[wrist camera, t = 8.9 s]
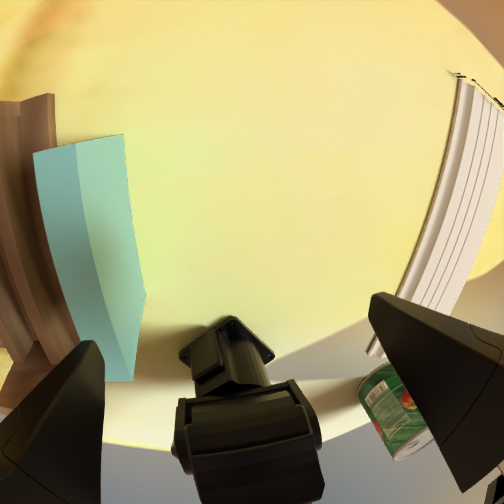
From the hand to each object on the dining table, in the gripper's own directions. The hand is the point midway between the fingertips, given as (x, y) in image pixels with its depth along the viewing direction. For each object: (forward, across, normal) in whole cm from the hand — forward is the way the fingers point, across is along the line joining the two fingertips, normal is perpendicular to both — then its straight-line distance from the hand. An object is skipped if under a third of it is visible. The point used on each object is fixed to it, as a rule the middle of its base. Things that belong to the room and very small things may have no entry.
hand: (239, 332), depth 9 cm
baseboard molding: (+14, -24, +5) cm, 28 cm away
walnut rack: (+13, +19, 0) cm, 23 cm away
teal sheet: (+13, +6, 0) cm, 15 cm away
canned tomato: (+13, -19, +25) cm, 34 cm away
